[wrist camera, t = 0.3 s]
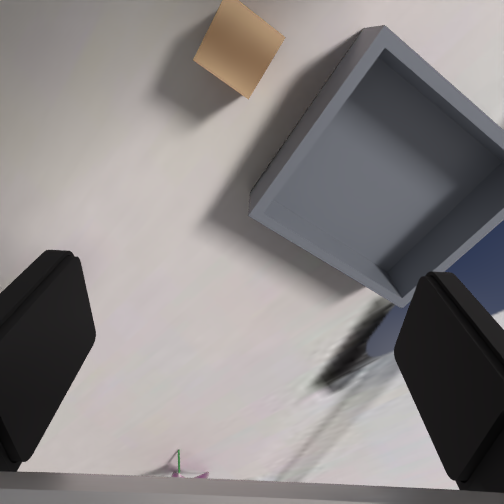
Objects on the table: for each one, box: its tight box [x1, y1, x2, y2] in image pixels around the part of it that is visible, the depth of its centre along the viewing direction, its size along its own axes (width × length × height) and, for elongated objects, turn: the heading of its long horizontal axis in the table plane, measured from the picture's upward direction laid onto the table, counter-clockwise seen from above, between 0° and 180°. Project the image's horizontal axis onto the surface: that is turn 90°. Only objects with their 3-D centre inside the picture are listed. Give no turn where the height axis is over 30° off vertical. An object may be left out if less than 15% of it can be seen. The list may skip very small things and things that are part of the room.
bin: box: [248, 25, 504, 308], centre depth 34 cm, size 18×20×6 cm
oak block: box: [193, 0, 285, 99], centre depth 29 cm, size 5×5×6 cm
